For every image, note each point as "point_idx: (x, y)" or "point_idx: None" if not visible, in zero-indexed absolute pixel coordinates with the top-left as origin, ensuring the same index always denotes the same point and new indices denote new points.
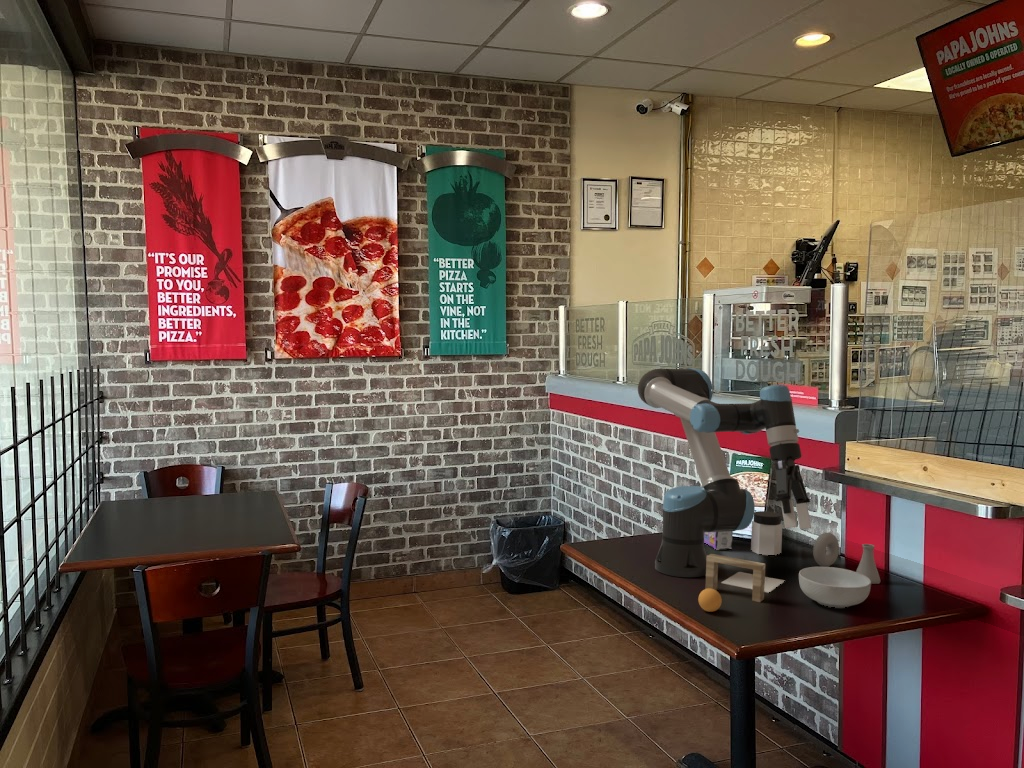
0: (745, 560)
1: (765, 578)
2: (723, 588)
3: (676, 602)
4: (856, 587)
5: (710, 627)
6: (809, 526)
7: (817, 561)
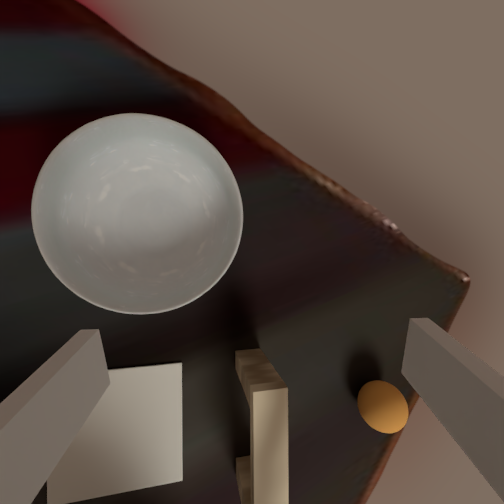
0: (257, 452)
1: None
2: (218, 452)
3: (360, 463)
4: (208, 141)
5: None
6: (94, 339)
7: None
